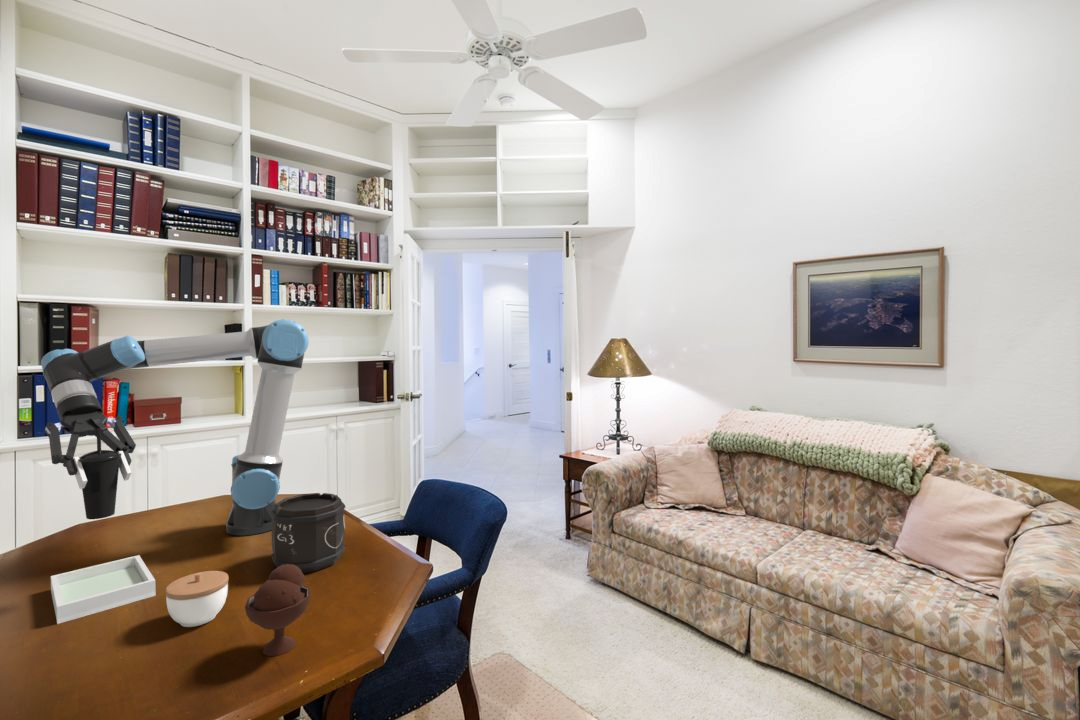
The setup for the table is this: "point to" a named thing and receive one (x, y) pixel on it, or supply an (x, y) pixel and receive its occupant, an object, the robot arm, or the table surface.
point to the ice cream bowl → (279, 606)
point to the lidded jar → (197, 597)
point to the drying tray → (100, 588)
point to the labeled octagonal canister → (308, 531)
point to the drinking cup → (100, 481)
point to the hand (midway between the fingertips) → (106, 480)
